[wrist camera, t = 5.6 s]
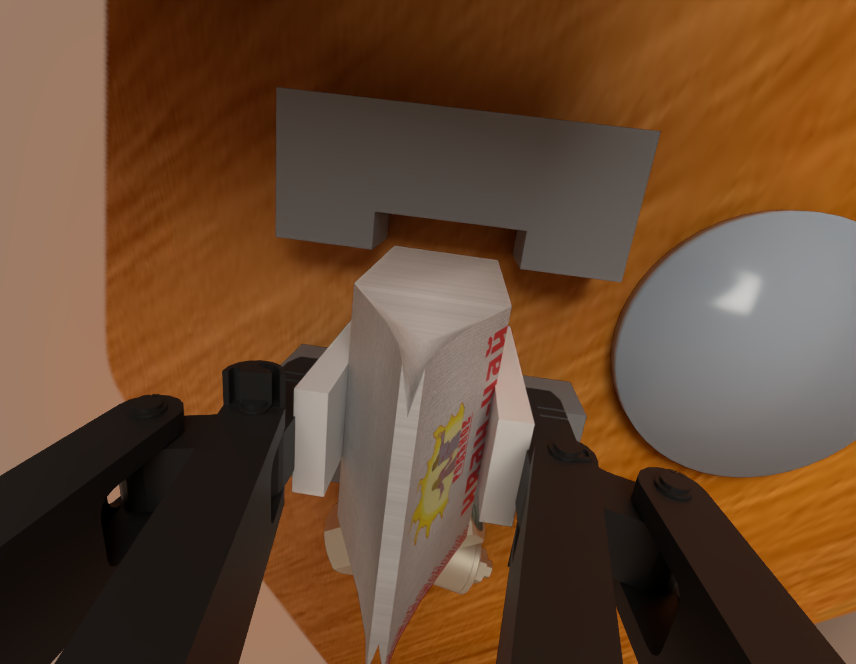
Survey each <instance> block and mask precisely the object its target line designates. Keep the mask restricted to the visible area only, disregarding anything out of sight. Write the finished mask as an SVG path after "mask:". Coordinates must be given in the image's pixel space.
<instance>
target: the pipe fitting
mask: <svg viewBox="0 0 856 664" xmlns="http://www.w3.org/2000/svg"><path fill="white" fill-rule="evenodd" d="M337 511H338V503H337V504H334V505H333V506H332V508H331V510H330V512H329V514H328V516H327V519H326V522H325V528H324V539H325V547H326V551H327V555H328V557H329V560H330V563H331V565H332V567H333V569H334V570H335V571H337V572H339V573H343V574H348V575H353V572H352V568H351V565H350V561H349V557H348V553H347V550H346V546H345V542H344V538H343V535H342V531H341V527H340V523H339V520H338V516H337ZM484 537H485V523H484V522H479V505H478V504H473V507H472V512H471V517H470V522H469V527H468V532H467V537H466V538H465V540H464V541H463V543H462V544H461V545H460V547H459V548H458V550H457V551H456V552H455V554H454V555H453V557H452V558H451V559H450V561H449V562H448V564H447V565H446V566H445V568H444V569H443V571H442V572H441V574H440V575H439V576H438V578H437V579H436V581H435V582H434V583H433V585H436V586H439V587H442V588H445V589H448V590H451V591H453V592H456V593H459V594H465V593H466V592H467V591H468V590H469V589H470V587H471V586H472V584H473V583H479V582H481V580H482V579H483V577H484V578H488V577H489V576H490V574H491V571H492V561H490V560H488V557H487V552H486V549H484V548H482V543H483V541H484Z"/></svg>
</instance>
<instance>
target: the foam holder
mask: <svg viewBox="0 0 856 664" xmlns="http://www.w3.org/2000/svg"><path fill="white" fill-rule="evenodd" d="M660 132H661V131H653V130H644V129H636V128H627V127H618V126H610V125H601V124H592V123H584V122H575V121H566V120H558V119H549V118H540V117H532V116H523V115H514V114H506V113H497V112H489V111H480V110H471V109H463V108H454V107H445V106H437V105H428V104H419V103H411V102H402V101H393V100H385V99H376V98H367V97H359V96H350V95H341V94H333V93H324V92H315V91H307V90H298V89H290V88H281V87H276V237H280V238H288V239H295V240H303V241H311V242H318V243H326V244H333V245H341V246H349V247H356V248H364V249H371V250H372V249H373V248H375V247H376V246H378V245H379V244H380V243H382V242H383V241H384V240H386V239H387V232H388V220H389V213H390V214H398V215H406V216H413V217H421V218H429V219H437V220H445V221H453V222H461V223H468V224H476V225H484V226H492V227H500V228H508V229H516V230H517V233H516V238H515V244H514V250H513V257H514V259H515V261H516V262H517V264H518V266H519V268H520V269H524V270H531V271H539V272H547V273H554V274H562V275H569V276H577V277H585V278H592V279H600V280H607V281H615V282H622V278H623V274H624V271H625V267H626V263H627V259H628V255H629V251H630V248H631V244H632V240H633V236H634V232H635V228H636V224H637V221H638V217H639V213H640V209H641V205H642V201H643V198H644V194H645V190H646V186H647V182H648V178H649V175H650V171H651V167H652V163H653V159H654V155H655V152H656V148H657V144H658V140H659V136H660ZM326 350H327V348H326V347H319V346H312V345H305V344H301V345H300V346H299V347H298V348H297V349H296V350H295V351H294V352H293V353H292V354H291V355H290V356H289V357H288V358H287V359H286V360H285V361H284V362H283V363H282V364H281V366H282V367H283V366H284V365H285V364H286V363H287V362H289V361H291V360H294V359H296V358H298V357H301V356H302V357H309V358H316V359H319V358H320V357H321V356H322V354H323V353H324V352H325V351H326ZM522 376H523V375H522ZM523 380H524V384H525V387H527V388H534V389H541V390H548V391H551V392H552V393H553V394H554V395H555V396H557V397H558V398H559V399H560V400H561V402H562V405H563V407H564V410H565V411H564V412H566V415H567V417H568V420H569V422H570V425H571V427H572V430H573V433H574V435H575V438H576V440H577V441H578V442H580V439H581V436H582V432H583V428H584V424H585V420H586V414H585V412H584V410H583V408H582V405H581V403H580V401H579V399H578V397H577V395H576V393H575V391H574V389H573V387H572V385H571V383H570V382H565V381H558V380H551V379H544V378H537V377H530V376H523ZM340 470H341V460H340V462H339V464H338V467H337V469H336V471H335V473H334V475H333V477H332V480H331V482H338V483H340ZM473 504H478V505H479V486H478V481H477V486H476V492H475V497H474V502H473Z"/></svg>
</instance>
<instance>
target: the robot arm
mask: <svg viewBox="0 0 856 664" xmlns="http://www.w3.org/2000/svg"><path fill="white" fill-rule="evenodd" d="M350 333H351V321H350V322H349V323H348V324H347V325H346V327H345V328H344V329H343V330H342V331H341V333H340V334H339V335H338V336H337V337H336V339H335V340H334V341H333V342H332V344H331V345H330V346H329V347H328V348H327V350H326V351H325V352H324V353H323V354H322V356H321V357H320V358H319V359H316V358H309V357H302V356H301V357H298V358H296V359H294V360H291V361H289V362H287V363H286V364H285V365H284V366H283V367H282V366H281V365H279V364H276V363H274V362H269V361H262V360H257V361H244V362H238V363H235V364H233V365H230V366H228V367H227V368H225V369H224V370H223V371H222V376H223V401H224V405H223V407H222V408H221V410H220V411H219V413H218V414H213V415H189V416H184V407H183V403H182V402H181V401H180V400H179V399H178V398H175V397H172V396H167V395H159V394H152V395H143V396H141V397H138V398H134V399H130V400H128V401H126V402H124V403H122V404H119V405H117V406H116V407H114V408H112V409H111V410H109V411H107V412H106V413H104V414H102V415H101V416H99V417H98V418H96V419H94V420H92V421H91V422H89V423H87V424H86V425H84V426H83V427H81V428H79V429H78V430H76V431H74V432H73V433H71V434H69V435H68V436H66V437H64V438H62V439H61V440H59V441H57V442H56V443H54V444H52V445H51V446H49V447H47V448H46V449H44V450H42V451H41V452H39V453H38V454H36V455H34V456H32V457H31V458H29V459H27V460H26V461H24V462H23V463H21V464H19V465H18V466H16V467H14V468H13V469H11V470H9V471H7V472H6V473H4V474H3V475H1V476H0V664H51V663H52V661H53V660H54V659H55V658H56V657H57V656H58V655H59V654H60V653H61V652H62V653H61V654H60V656H59V658H58V659H57V661H56V662H55V664H239V660H240V657H241V653H242V650H243V646H244V643H245V639H246V636H247V632H248V629H249V625H250V621H251V618H252V615H253V611H254V608H255V604H256V601H257V597H258V594H259V590H260V587H261V583H262V580H263V576H264V573H265V569H266V566H267V562H268V559H269V555H270V552H271V548H272V545H273V541H274V538H275V534H276V531H277V527H278V524H279V520H280V517H281V513H282V510H283V506H284V486H285V485H286V483H287V481H288V480H289V478H290V476H291V475H292V492H295V493H302V494H308V495H314V496H321V497H324V495H325V493H326V491H327V488H328V486H329V484H330V482H331V480H332V477H333V475H334V473H335V471H336V469H337V467H338V464H339V462H340V460H341V458H342V451H343V436H344V421H345V406H346V391H347V376H348V360H349V347H350ZM564 411H565V410H564V407H563V405H562V402H561V400H560V399H559V398H558V397H557V396H555V395H554V394H553V393H552V392H551V391H548V390H541V389H534V388H527V387H525V384H524V380H523V376H522V372H521V368H520V364H519V360H518V356H517V352H516V348H515V344H514V340H513V336H512V332H511V328H510V326H508V328H507V333H506V338H505V343H504V349H503V354H502V359H501V364H500V369H499V374H498V379H497V384H496V385H495V389H494V395H493V400H492V405H491V411H490V416H489V421H488V427H487V432H486V438H485V443H484V448H483V454H482V459H481V464H480V470H479V475H478V486H479V522H485V523H491V524H498V525H504V526H510V527H512V524H513V519H514V515H515V510H516V512H517V520H518V522H517V527H516V531H515V536H514V540H513V544H512V549H511V553H510V558H509V562H508V567H510V568H509V575H508V582H507V589H506V596H505V604H504V611H503V618H502V625H501V632H500V639H499V646H498V653H497V660H496V664H623V660H622V652H621V644H620V636H619V628H618V620H617V612H616V607H617V610H618V612H619V615H620V618H621V620H622V623H623V625H624V628H625V630H626V633H627V635H628V638H629V641H630V643H631V646H632V648H633V651H634V653H635V656H636V659H637V661H638V664H846V663H845V662H844V661H843V660H842V658H841V657H840V656H839V655H838V654H837V652H836V651H835V650H834V649H833V647H832V646H831V645H830V644H829V642H828V641H827V640H826V639H825V638H824V636H823V635H822V634H821V633H820V631H819V630H818V629H817V628H816V626H815V625H814V624H813V623H812V621H811V620H810V619H809V618H808V616H807V615H806V614H805V613H804V612H803V610H802V609H801V608H800V607H799V605H798V604H797V603H796V602H795V600H794V599H793V598H792V597H791V595H790V594H789V593H788V592H787V591H786V589H785V588H784V587H783V586H782V584H781V583H780V582H779V581H778V579H777V578H776V577H775V576H774V575H773V573H772V572H771V571H770V570H769V568H768V567H767V566H766V565H765V563H764V562H763V561H762V560H761V558H760V557H759V556H758V555H757V554H756V552H755V551H754V550H753V549H752V547H751V546H750V545H749V544H748V542H747V541H746V540H745V539H744V538H743V536H742V535H741V534H740V533H739V531H738V530H737V529H736V528H735V526H734V525H733V524H732V523H731V521H730V520H729V519H728V518H727V517H726V515H725V514H724V513H723V512H722V510H721V509H720V508H719V507H718V505H717V504H716V503H715V502H714V501H713V499H712V498H711V497H710V496H709V494H708V493H707V492H706V491H705V490H704V489H703V488H702V487H701V486H700V485H699V484H698V483H696V482H695V481H693V480H691V479H690V478H688V477H687V476H685V475H684V474H681V473H679V472H678V473H677V471H674V470H671V469H664V468H660V467H647V468H645V469H642V470H640V472H639V474H638V477H637V480H636V482H634V481H631V480H628V479H625V478H623V477H620V476H617V475H614V474H611V473H609V472H606V471H604V470H602V469H601V468H599V466H598V460H597V458H596V455H595V453H594V452H592V451H591V450H590V449H589V448H588V447H587V446H585V445H583V444H582V443H580V442H578V441H577V440H576V438H575V435H574V433H573V430H572V427H571V425H570V422H569V420H568V417H567V415H566V412H564ZM118 485H119V486H120V494H121V496H120V497H119V498H118V499H116V500H115V501H114V502H112V503H110V504H109V503H108V501H107V496H108V495H109V494H110V492H111V491H112V490H113V489H114V488H115V487H116V486H118ZM63 649H64V650H63Z"/></svg>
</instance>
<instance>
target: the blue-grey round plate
mask: <svg viewBox="0 0 856 664" xmlns="http://www.w3.org/2000/svg"><path fill="white" fill-rule="evenodd" d="M611 372H612V380H613V384H614V388H615V392H616V395H617V397H618V399H619V402H620V404H621V406H622V408H623V410H624V411H625V413H626V415H627V416H628V418H629V419H630V421H631V422H632V424H633V425H634V427H635V428H636V430H637V431H638V432H639V433H640V435H641V436H642V437H643V438H644V439H645V440H646V441H647V442H648V443H649V444H650V445H651V446H652V447H653V448H655V449H656V450H657V451H658V452H660V453H661V454H663V455H664V456H666V457H667V458H669V459H670V460H672V461H674V462H677V463H679V464H681V465H683V466H685V467H688V468H691V469H694V470H697V471H700V472H703V473H708V474H713V475H718V476H728V477H758V476H767V475H774V474H778V473H783V472H788V471H792V470H795V469H798V468H801V467H804V466H807V465H810V464H812V463H815V462H817V461H819V460H822V459H824V458H826V457H828V456H830V455H832V454H834V453H836V452H837V451H839V450H841V449H843V448H845V447H846V446H847V445H849V444H850V443H852V442H853V441H855V440H856V222H855V221H852V220H849V219H847V218H844V217H841V216H836V215H831V214H825V213H820V212H811V211H798V210H771V211H760V212H755V213H749V214H744V215H740V216H737V217H733V218H730V219H727V220H724V221H721V222H718V223H716V224H714V225H712V226H710V227H707V228H705V229H703V230H701V231H699V232H697V233H695V234H694V235H692V236H690V237H689V238H687V239H685V240H684V241H682V242H681V243H679V244H678V245H677V246H675V247H674V248H673V249H671V250H670V251H669V252H667V253H666V254H665V255H664V256H663V257H662V258H661V259H660V260H659V261H657V262H656V263H655V264H654V265H653V266H652V267H651V268H650V269H649V271H648V272H647V273H646V274H645V275H644V276H643V278H642V279H641V280H640V281H639V282H638V284H637V285H636V287H635V288H634V290H633V292H632V293H631V295H630V296H629V298H628V299H627V301H626V304H625V306H624V308H623V310H622V312H621V314H620V316H619V319H618V322H617V325H616V328H615V331H614V336H613V341H612V347H611Z"/></svg>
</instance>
